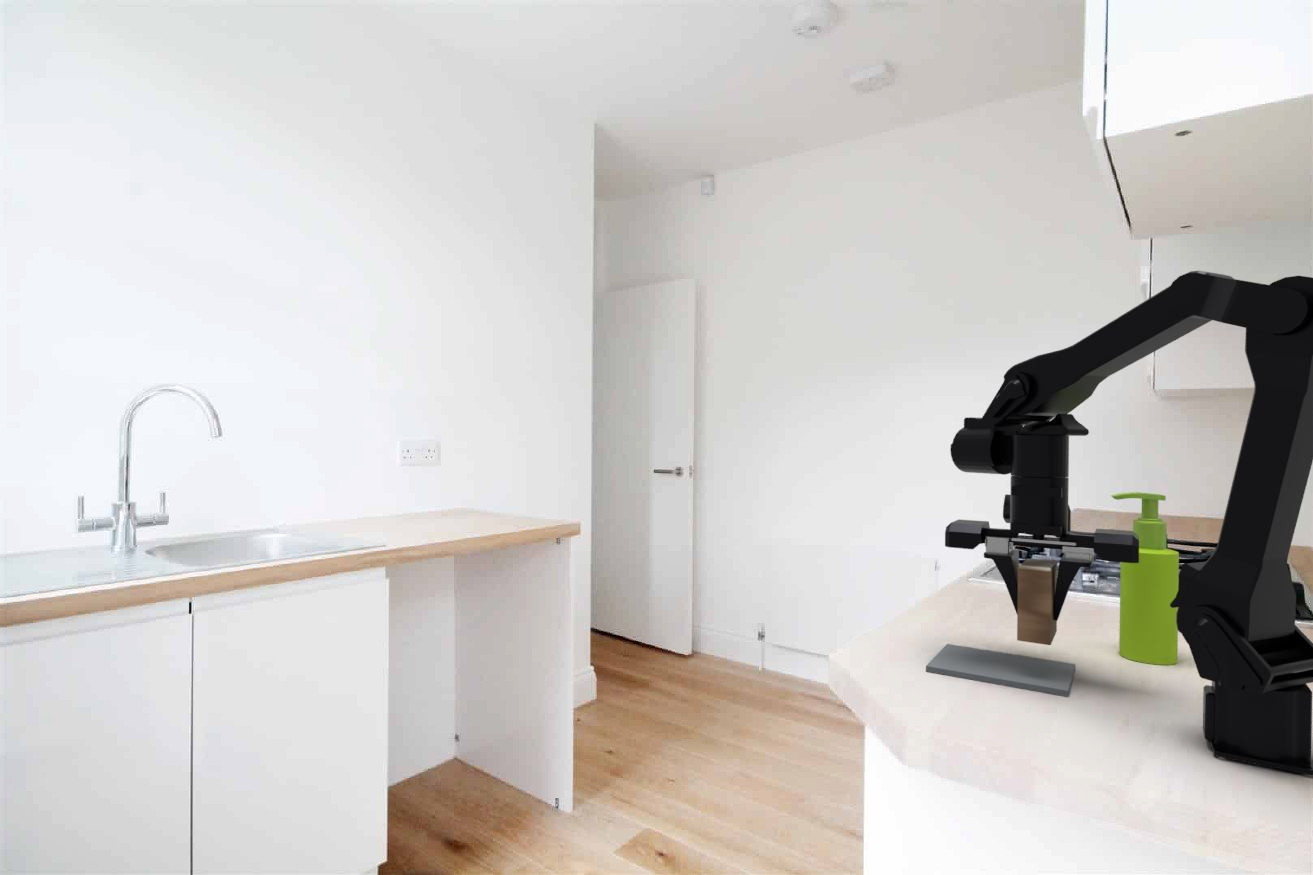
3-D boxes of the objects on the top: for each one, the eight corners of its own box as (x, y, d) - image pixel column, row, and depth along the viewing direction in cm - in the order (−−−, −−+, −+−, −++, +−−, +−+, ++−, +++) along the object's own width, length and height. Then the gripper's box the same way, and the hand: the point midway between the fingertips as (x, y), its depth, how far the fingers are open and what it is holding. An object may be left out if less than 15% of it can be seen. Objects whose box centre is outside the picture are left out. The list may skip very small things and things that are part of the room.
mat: (1075, 669, 85) (1075, 663, 85) (1067, 696, 75) (1067, 690, 75) (947, 648, 92) (947, 643, 92) (925, 671, 83) (926, 665, 83)
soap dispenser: (1105, 647, 94) (1107, 490, 94) (1169, 653, 91) (1171, 492, 91) (1115, 660, 88) (1117, 493, 88) (1183, 667, 86) (1186, 495, 86)
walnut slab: (1056, 631, 84) (1057, 560, 84) (1050, 645, 78) (1051, 569, 78) (1025, 627, 86) (1026, 558, 86) (1017, 640, 80) (1018, 566, 80)
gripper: (1139, 477, 83) (1138, 615, 83) (964, 471, 94) (962, 594, 94) (1139, 481, 74) (1138, 636, 74) (944, 474, 84) (943, 611, 84)
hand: (1037, 617), depth 82 cm, fingers closed on walnut slab, 3 cm apart
